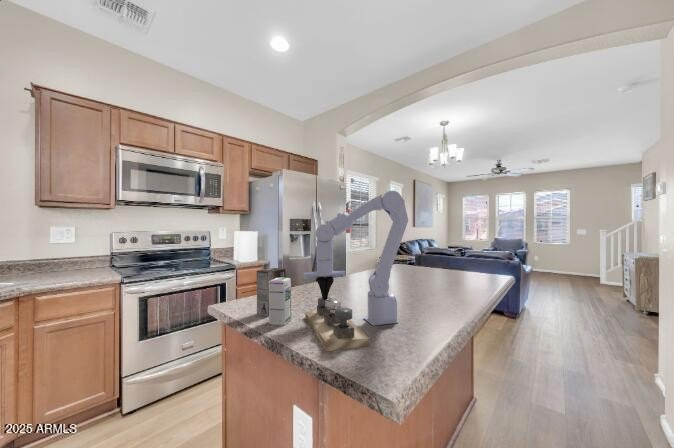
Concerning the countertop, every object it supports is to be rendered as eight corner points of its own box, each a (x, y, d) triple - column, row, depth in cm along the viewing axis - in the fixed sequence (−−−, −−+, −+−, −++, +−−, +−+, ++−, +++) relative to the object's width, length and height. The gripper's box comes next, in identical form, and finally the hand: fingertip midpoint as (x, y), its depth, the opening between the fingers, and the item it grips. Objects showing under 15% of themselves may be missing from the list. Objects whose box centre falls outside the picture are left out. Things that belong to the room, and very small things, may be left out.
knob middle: (338, 312, 88) (338, 298, 88) (342, 317, 83) (342, 302, 83) (323, 314, 86) (323, 299, 86) (327, 318, 82) (327, 303, 82)
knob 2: (348, 322, 78) (348, 307, 78) (354, 328, 74) (354, 311, 74) (332, 324, 77) (332, 308, 77) (337, 330, 72) (337, 313, 72)
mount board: (337, 314, 100) (337, 302, 100) (369, 345, 73) (369, 328, 73) (305, 317, 96) (305, 304, 96) (326, 351, 69) (326, 333, 70)
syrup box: (285, 325, 88) (285, 280, 88) (268, 324, 89) (268, 280, 90) (291, 320, 94) (291, 277, 94) (275, 318, 95) (275, 277, 95)
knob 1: (329, 309, 97) (329, 296, 97) (333, 313, 93) (333, 299, 93) (316, 310, 96) (316, 297, 96) (319, 314, 91) (319, 301, 91)
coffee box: (274, 308, 108) (274, 267, 108) (286, 310, 104) (286, 268, 105) (256, 314, 100) (256, 270, 101) (268, 317, 97) (268, 271, 97)
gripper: (341, 257, 101) (340, 294, 100) (302, 258, 96) (301, 297, 96) (347, 259, 94) (347, 299, 94) (305, 261, 89) (305, 302, 89)
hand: (324, 298), depth 94 cm, fingers closed, pressing on knob 1
